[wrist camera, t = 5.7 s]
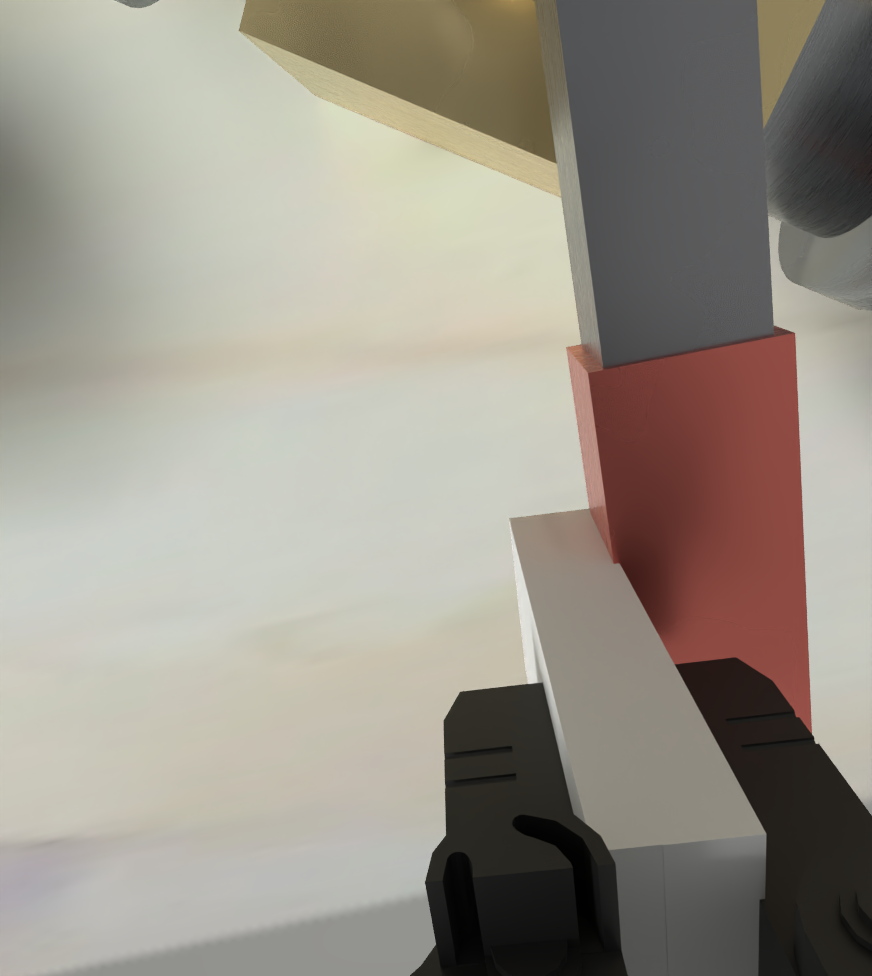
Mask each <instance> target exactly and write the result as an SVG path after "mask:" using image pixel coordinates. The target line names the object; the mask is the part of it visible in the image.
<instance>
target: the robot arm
mask: <svg viewBox="0 0 872 976" xmlns="http://www.w3.org/2000/svg"><path fill="white" fill-rule="evenodd" d="M509 522H510V532H511V541H512V550H513V559H514V569H515V578H516V587H517V596H518V605H519V615H520V624H521V633H522V642H523V652H524V661H525V669H526V674H527V679H528V684H524V685H515V686H507V687H498V688H489V689H481V690H472V691H463V692H460V693H459V695H458V697H457V698H456V700H455V702H454V704H453V705H452V707H451V709H450V711H449V712H448V714H447V716H446V718H445V719H444V754H445V785H446V788H445V804H446V836H445V838H444V839H443V840H442V841H441V843H440V844H439V845H438V846H437V848H436V849H435V850H434V852H433V853H432V857H431V861H430V865H429V869H428V873H427V877H426V881H425V884H426V890H427V895H428V901H429V907H430V912H431V917H432V923H433V929H434V934H435V940H436V946H435V947H434V948H433V950H432V951H431V953H430V954H429V955H428V957H427V958H426V960H425V961H424V963H423V964H422V965H421V966H420V967H419V968H418V969H417V970H416V971H415V972H413V973H412V974H411V975H410V976H872V816H871V814H870V813H869V811H868V810H867V809H866V807H865V806H864V805H863V803H862V802H861V801H860V799H859V798H858V796H857V795H856V794H855V792H854V791H853V790H852V788H851V787H850V786H849V784H848V783H847V781H846V780H845V779H844V777H843V776H842V775H841V773H840V772H839V771H838V769H837V768H836V766H835V765H834V764H833V762H832V761H831V760H830V758H829V757H828V756H827V754H826V753H825V751H824V750H823V749H822V747H821V746H820V745H819V744H816V743H815V741H814V736H813V735H812V734H811V732H810V731H809V730H808V728H807V727H806V726H805V724H804V723H803V721H802V720H801V719H800V717H796V715H795V711H794V709H793V708H792V706H791V705H790V704H789V702H788V701H787V700H786V698H785V697H784V696H783V694H782V693H781V691H780V690H779V689H778V687H777V686H776V685H775V683H774V682H773V681H772V680H771V679H769V678H768V677H766V676H765V675H763V674H762V673H760V672H758V671H757V670H755V669H754V668H752V667H751V666H749V665H748V664H746V663H744V662H743V661H741V660H740V659H738V658H737V657H733V658H725V659H716V660H708V661H699V662H690V663H682V664H674V663H673V661H672V659H671V657H670V655H669V653H668V652H667V650H666V648H665V646H664V644H663V642H662V640H661V639H660V637H659V635H658V633H657V631H656V629H655V628H654V626H653V624H652V622H651V620H650V618H649V616H648V615H647V613H646V611H645V609H644V607H643V605H642V604H641V602H640V600H639V598H638V596H637V594H636V592H635V591H634V589H633V587H632V585H631V583H630V581H629V580H628V578H627V576H626V574H625V572H624V570H623V568H622V567H621V565H620V563H617V564H614V563H613V561H612V559H611V557H610V555H609V552H608V550H607V548H606V546H605V544H604V541H603V539H602V537H601V535H600V533H599V531H598V528H597V526H596V524H595V522H594V520H593V517H592V515H591V513H590V509H583V510H575V511H567V512H559V513H550V514H542V515H534V516H526V517H518V518H510V519H509Z"/></svg>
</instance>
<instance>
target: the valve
mask: <svg viewBox="0 0 872 976" xmlns="http://www.w3.org/2000/svg"><path fill="white" fill-rule="evenodd" d="M115 1H117V2H120V3H122V4H125V5H127V6H129V7H134V8H143V7H147V6H150V5H152V4H153V3H155V2H157V1H158V0H115ZM757 14H758V33H759V53H760V72H761V92H762V111H763V131H764V150H765V170H766V189H767V209H768V216H771V217H773V218H775V219H778V220H780V221H782V222H781V227H780V234H779V248H778V251H779V261H780V264H781V268H782V270H783V272H784V274H785V275H786V277H787V278H788V279H789V280H790V281H792V282H793V283H796V284H798V285H800V286H803V287H805V288H808V289H810V290H813V291H815V292H817V293H820V294H822V295H825V296H827V297H829V298H832V299H834V300H837V301H839V302H841V303H844V304H846V305H849V306H851V307H854V308H856V309H860V310H872V0H757ZM239 31H240V32H241V33H242V34H243V35H244V36H246V37H247V38H248V39H249V40H250V41H251V42H253V43H254V44H255V45H256V46H257V47H259V48H260V49H261V50H262V51H263V52H264V53H266V54H267V55H268V56H269V57H270V58H272V59H273V60H274V61H275V62H276V63H277V64H279V65H280V66H281V67H282V68H283V69H285V70H286V71H287V72H288V73H289V74H290V75H292V76H293V77H294V78H295V79H296V80H298V81H299V82H300V83H301V84H302V85H303V86H305V87H306V88H307V89H308V90H309V91H311V92H312V93H313V94H314V95H315V96H318V97H320V98H322V99H325V100H327V101H330V102H332V103H335V104H337V105H339V106H342V107H344V108H347V109H349V110H351V111H354V112H356V113H359V114H361V115H364V116H366V117H368V118H371V119H373V120H376V121H378V122H380V123H383V124H385V125H388V126H390V127H393V128H395V129H397V130H400V131H402V132H405V133H407V134H409V135H412V136H414V137H417V138H419V139H421V140H424V141H426V142H429V143H431V144H434V145H436V146H438V147H441V148H443V149H446V150H448V151H450V152H453V153H455V154H458V155H460V156H463V157H465V158H467V159H470V160H472V161H475V162H477V163H479V164H482V165H484V166H487V167H489V168H492V169H494V170H496V171H499V172H501V173H504V174H506V175H508V176H511V177H513V178H516V179H518V180H521V181H523V182H525V183H528V184H530V185H533V186H535V187H537V188H540V189H542V190H545V191H547V192H550V193H552V194H554V195H557V196H559V197H561V191H560V184H559V176H558V169H557V162H556V154H555V147H554V140H553V132H552V125H551V118H550V110H549V103H548V96H547V89H546V81H545V74H544V67H543V59H542V52H541V45H540V37H539V30H538V23H537V15H536V8H535V1H533V0H246V4H245V8H244V12H243V16H242V20H241V24H240V28H239Z"/></svg>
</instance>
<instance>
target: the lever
mask: <svg viewBox="0 0 872 976" xmlns="http://www.w3.org/2000/svg"><path fill="white" fill-rule="evenodd" d="M533 1H535V8H536V15H537V23H538V30H539V37H540V45H541V52H542V59H543V67H544V74H545V81H546V89H547V96H548V103H549V110H550V118H551V125H552V132H553V140H554V147H555V154H556V162H557V169H558V176H559V184H560V191H561V198H562V205H563V213H564V220H565V227H566V235H567V242H568V249H569V257H570V264H571V271H572V279H573V286H574V293H575V300H576V308H577V315H578V322H579V330H580V337H581V345H576V346H571V347H566V348H567V355H568V362H569V369H570V376H571V383H572V390H573V397H574V404H575V411H576V418H577V425H578V432H579V439H580V446H581V453H582V460H583V466H584V473H585V480H586V487H587V494H588V501H589V508H590V513H591V515H592V517H593V520H594V522H595V524H596V526H597V528H598V531H599V533H600V535H601V537H602V539H603V541H604V544H605V546H606V548H607V550H608V552H609V555H610V557H611V559H612V561H613V563H614V564H617V563H620V565H621V567H622V568H623V570H624V572H625V574H626V576H627V578H628V580H629V581H630V583H631V585H632V587H633V589H634V591H635V592H636V594H637V596H638V598H639V600H640V602H641V604H642V605H643V607H644V609H645V611H646V613H647V615H648V616H649V618H650V620H651V622H652V624H653V626H654V628H655V629H656V631H657V633H658V635H659V637H660V639H661V640H662V642H663V644H664V646H665V648H666V650H667V652H668V653H669V655H670V657H671V659H672V661H673V663H674V664H682V663H690V662H699V661H708V660H716V659H725V658H733V657H737V658H738V659H740V660H741V661H743V662H744V663H746V664H748V665H749V666H751V667H752V668H754V669H755V670H757V671H758V672H760V673H762V674H763V675H765V676H766V677H768V678H769V679H771V680H772V681H773V682H774V683H775V685H776V686H777V687H778V689H779V690H780V691H781V693H782V694H783V696H784V697H785V698H786V700H787V701H788V702H789V704H790V705H791V706H792V708H793V709H794V711H795V715H796V717H800V719H801V720H802V721H803V723H804V724H805V726H806V727H807V728H808V730H809V731H810V732H811V734H812V726H811V702H810V678H809V654H808V630H807V606H806V582H805V559H804V535H803V511H802V487H801V463H800V439H799V415H798V391H797V368H796V344H795V333H794V332H791V331H788V330H785V329H782V328H779V327H777V326H774V325H773V306H772V287H771V267H770V248H769V228H768V209H767V189H766V170H765V150H764V131H763V111H762V92H761V72H760V53H759V33H758V14H757V0H533Z"/></svg>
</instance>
